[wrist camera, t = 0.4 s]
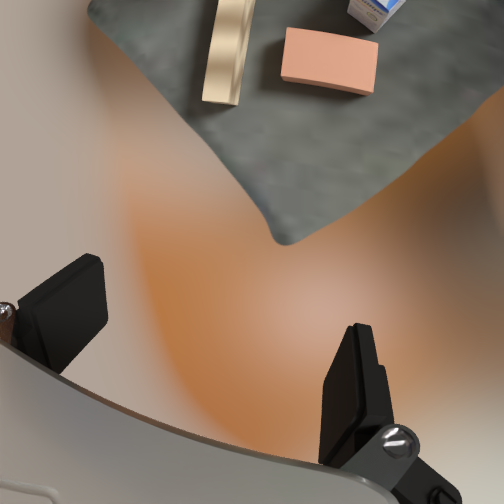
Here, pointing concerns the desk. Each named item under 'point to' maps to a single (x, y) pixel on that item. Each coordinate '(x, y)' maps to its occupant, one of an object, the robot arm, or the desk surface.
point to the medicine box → (373, 11)
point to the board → (228, 51)
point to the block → (329, 61)
